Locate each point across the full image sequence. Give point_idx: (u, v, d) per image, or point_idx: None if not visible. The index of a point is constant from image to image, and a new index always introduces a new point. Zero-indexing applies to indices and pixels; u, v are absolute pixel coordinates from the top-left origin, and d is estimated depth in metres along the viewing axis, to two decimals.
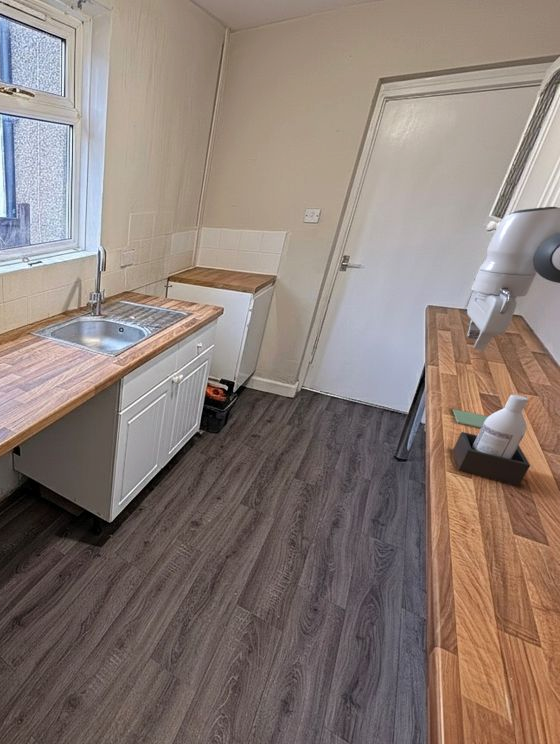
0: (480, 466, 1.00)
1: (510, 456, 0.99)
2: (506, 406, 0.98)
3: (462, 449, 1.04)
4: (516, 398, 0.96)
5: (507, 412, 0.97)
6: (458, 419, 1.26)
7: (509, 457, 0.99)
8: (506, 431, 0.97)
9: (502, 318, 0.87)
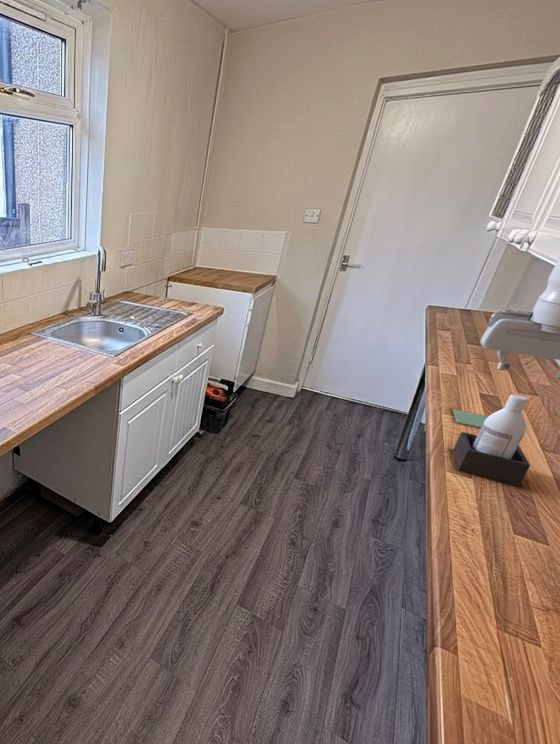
0: (480, 466, 1.00)
1: (510, 456, 0.99)
2: (506, 406, 0.98)
3: (462, 449, 1.04)
4: (516, 398, 0.96)
5: (507, 412, 0.97)
6: (458, 419, 1.26)
7: (509, 457, 0.99)
8: (506, 431, 0.97)
9: (487, 331, 0.96)
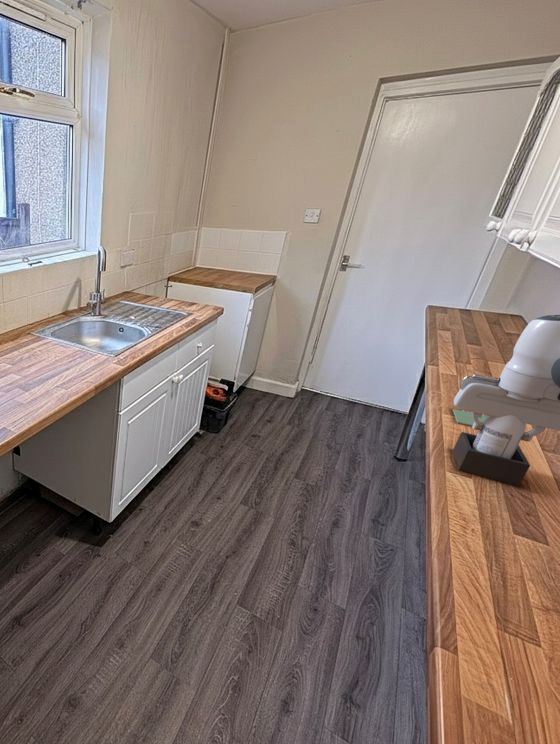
0: (480, 466, 1.00)
1: (510, 456, 0.99)
2: None
3: (462, 449, 1.04)
4: None
5: None
6: (458, 419, 1.26)
7: (509, 457, 0.99)
8: (505, 431, 0.97)
9: (459, 393, 1.02)
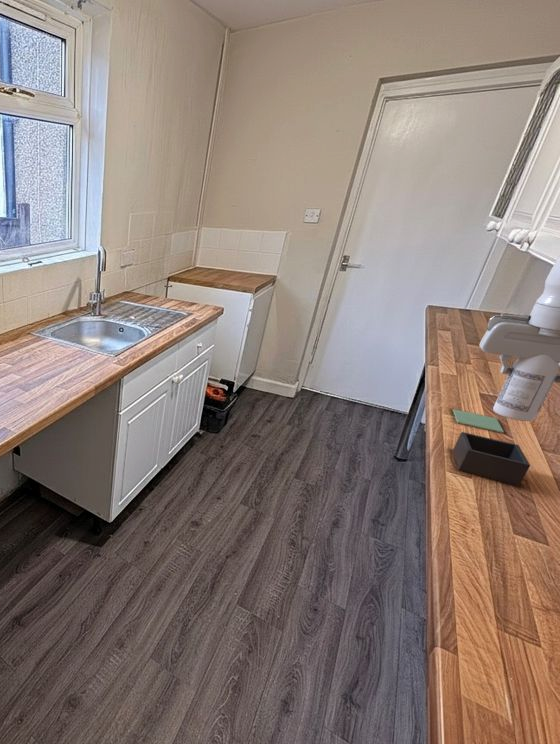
0: (480, 466, 1.00)
1: (542, 400, 0.93)
2: None
3: (462, 449, 1.04)
4: None
5: None
6: (458, 419, 1.26)
7: (541, 401, 0.93)
8: (537, 372, 0.91)
9: (486, 335, 0.96)
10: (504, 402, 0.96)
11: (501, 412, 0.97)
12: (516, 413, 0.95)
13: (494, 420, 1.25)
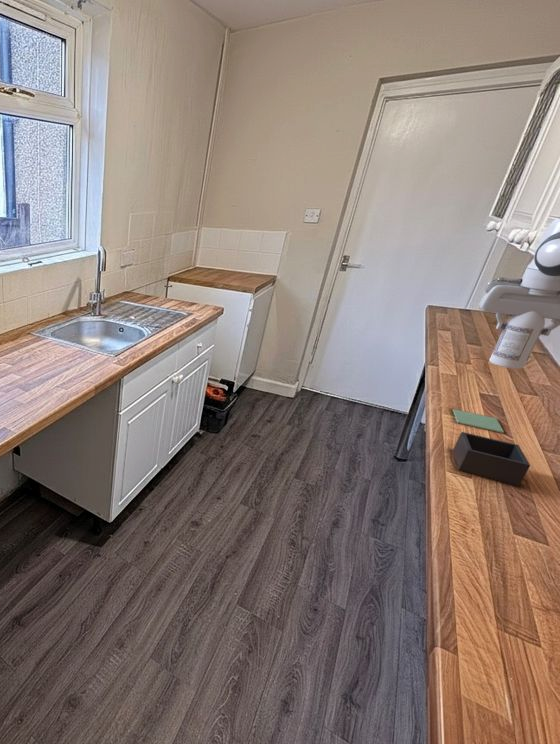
0: (480, 466, 1.00)
1: (530, 350, 1.11)
2: None
3: (462, 449, 1.04)
4: None
5: None
6: (458, 419, 1.26)
7: (529, 351, 1.11)
8: (527, 326, 1.09)
9: (485, 297, 1.14)
10: (499, 353, 1.15)
11: (496, 362, 1.15)
12: (508, 362, 1.13)
13: (494, 420, 1.25)
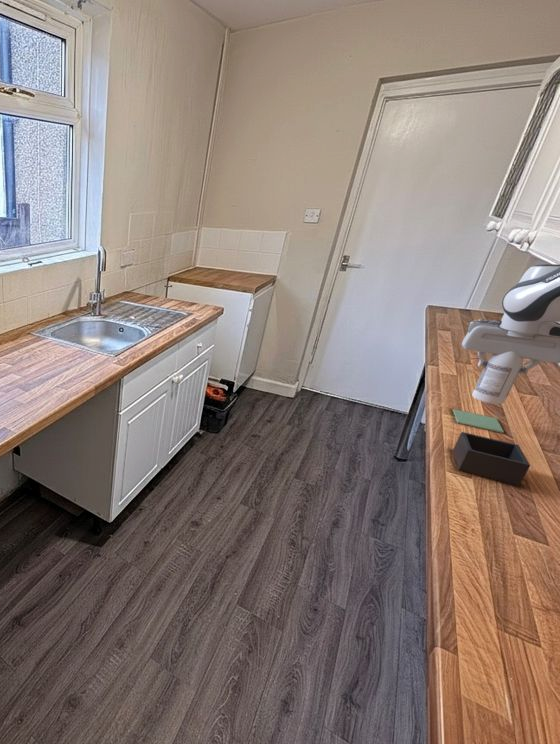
0: (480, 466, 1.00)
1: (510, 387, 1.17)
2: None
3: (462, 449, 1.04)
4: None
5: None
6: (458, 419, 1.26)
7: (509, 388, 1.17)
8: (506, 365, 1.15)
9: (467, 336, 1.20)
10: (480, 389, 1.21)
11: (478, 397, 1.22)
12: (489, 398, 1.20)
13: (494, 420, 1.25)
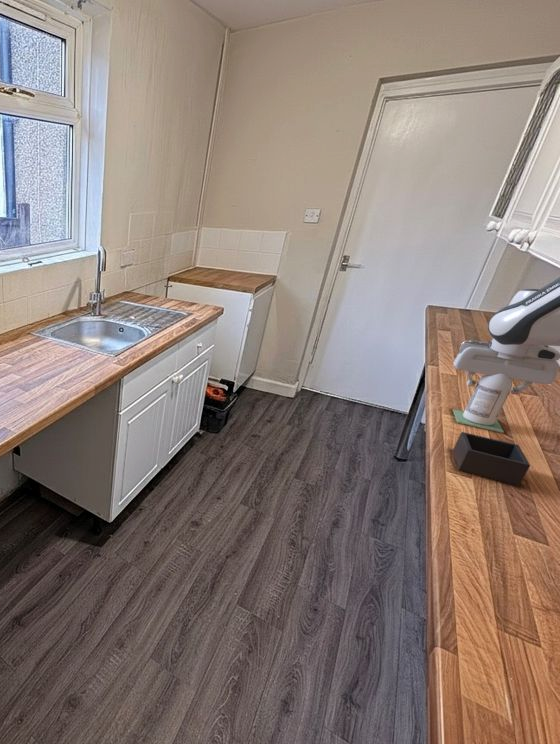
0: (480, 466, 1.00)
1: (499, 409, 1.20)
2: None
3: (462, 449, 1.04)
4: None
5: None
6: (458, 419, 1.26)
7: (498, 409, 1.20)
8: (495, 387, 1.18)
9: (458, 356, 1.23)
10: (471, 410, 1.24)
11: (468, 418, 1.25)
12: (479, 419, 1.22)
13: None
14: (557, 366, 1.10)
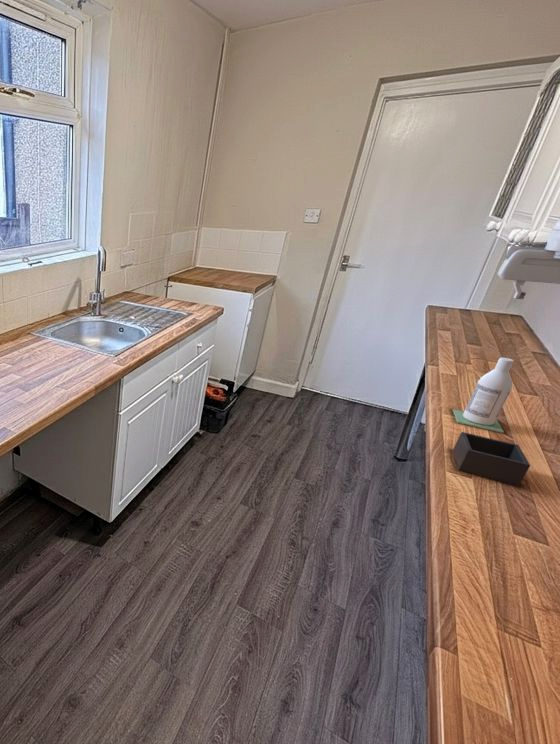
0: (480, 466, 1.00)
1: (499, 409, 1.20)
2: (496, 367, 1.19)
3: (462, 449, 1.04)
4: (504, 360, 1.17)
5: (497, 372, 1.18)
6: (458, 419, 1.26)
7: (498, 409, 1.20)
8: (495, 387, 1.18)
9: (504, 263, 1.04)
10: (471, 410, 1.24)
11: (468, 417, 1.25)
12: (479, 419, 1.22)
13: None
14: None
